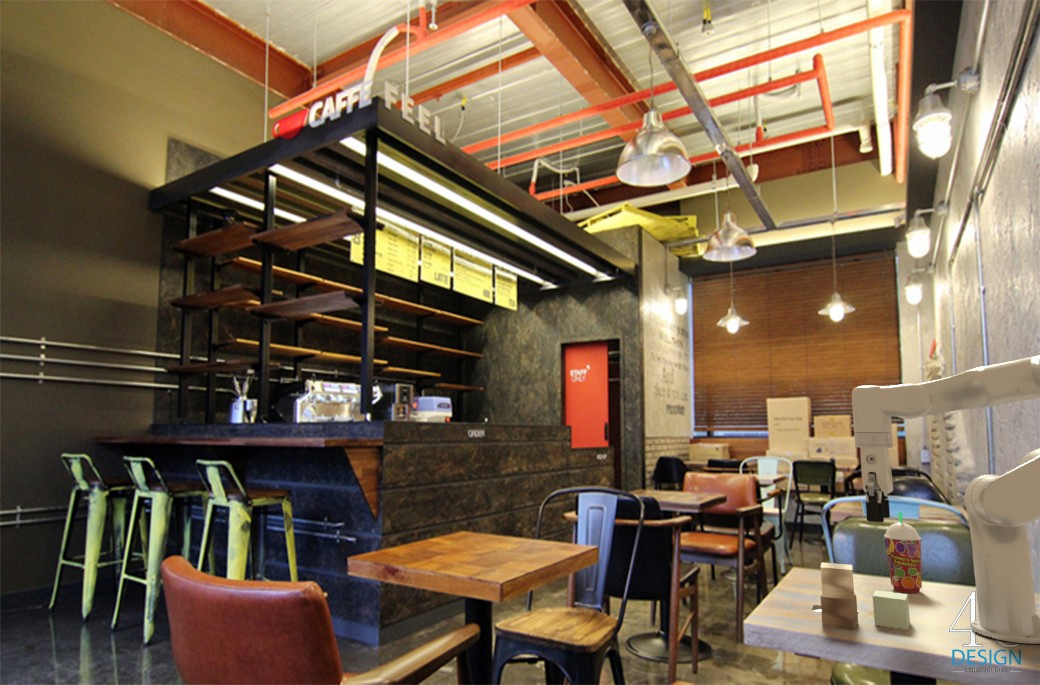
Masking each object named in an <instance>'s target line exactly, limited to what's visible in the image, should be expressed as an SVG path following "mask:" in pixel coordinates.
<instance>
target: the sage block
mask: <svg viewBox="0 0 1040 685" xmlns="http://www.w3.org/2000/svg"><path fill="white" fill-rule="evenodd" d="M908 594H909V593H902V592H892V591H884V590H875V591H874V593H873V595H872V606H873V617H874V618H873V620H874V626H878V625H880V626H879V627H884V626H887V627H886V628H891V627H893V628H892V629H897V628H903V629H902V630H904V629H908V630H909V628H910V625H909V624H911V619H910V606H909V605H910V604H909V595H908ZM908 627H909V628H908Z"/></svg>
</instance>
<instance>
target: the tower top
mask: <svg viewBox="0 0 1040 685" xmlns="http://www.w3.org/2000/svg"><path fill="white" fill-rule="evenodd" d="M853 571H854V569H853V564H844V563H834V562H833V563H832V562H821V563H820V579H821V592H822V593H821V595H822V597H829V598H839V599H848V600H854V594H855V588H854V587H855V586H854V585H855V584H854V572H853Z"/></svg>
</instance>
